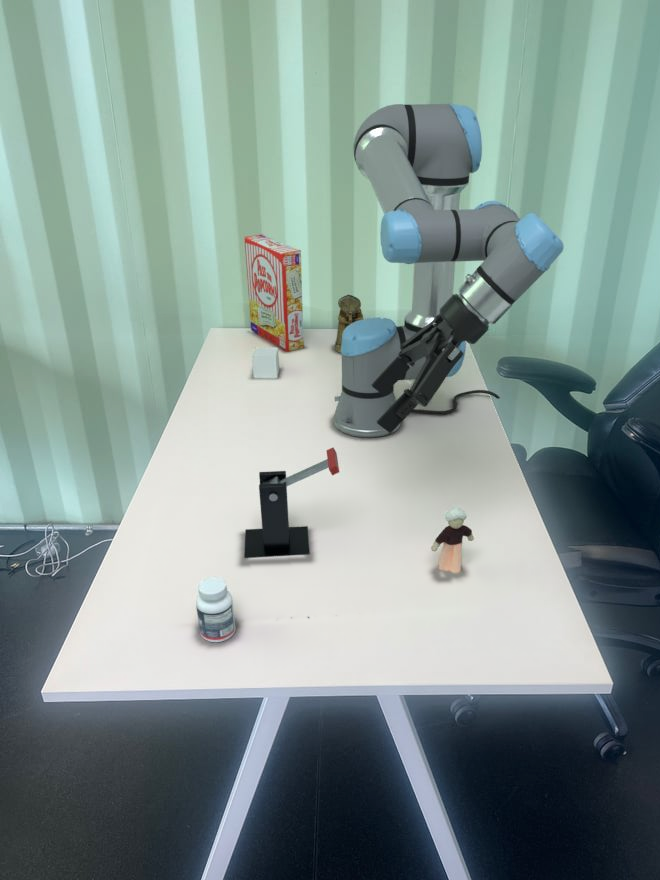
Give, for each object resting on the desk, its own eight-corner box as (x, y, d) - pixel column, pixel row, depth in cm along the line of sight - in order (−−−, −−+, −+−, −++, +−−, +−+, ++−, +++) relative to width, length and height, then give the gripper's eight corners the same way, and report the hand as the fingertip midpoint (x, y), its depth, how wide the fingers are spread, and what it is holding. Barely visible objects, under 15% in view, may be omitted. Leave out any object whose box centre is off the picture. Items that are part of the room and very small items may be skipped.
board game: (250, 331, 223) (243, 236, 208) (268, 327, 226) (263, 233, 212) (286, 352, 209) (281, 252, 195) (305, 348, 213) (302, 249, 198)
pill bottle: (202, 620, 116) (196, 574, 111) (237, 618, 116) (232, 572, 111) (198, 644, 111) (191, 597, 106) (234, 642, 112) (228, 595, 107)
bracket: (307, 531, 136) (305, 464, 129) (309, 559, 129) (307, 490, 122) (245, 534, 135) (239, 467, 127) (244, 563, 128) (237, 493, 120)
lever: (338, 455, 127) (331, 444, 126) (341, 474, 122) (334, 463, 121) (269, 487, 129) (262, 476, 128) (269, 507, 124) (262, 496, 122)
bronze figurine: (332, 360, 205) (331, 294, 196) (335, 342, 217) (334, 279, 207) (365, 361, 205) (365, 295, 196) (366, 343, 217) (367, 280, 207)
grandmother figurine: (441, 585, 124) (446, 521, 117) (426, 573, 127) (430, 510, 120) (476, 569, 128) (483, 506, 121) (461, 558, 130) (467, 495, 124)
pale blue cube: (279, 369, 199) (278, 347, 196) (277, 378, 194) (275, 356, 191) (256, 369, 199) (254, 347, 196) (253, 378, 194) (252, 355, 191)
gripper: (444, 269, 123) (359, 363, 130) (470, 322, 102) (367, 430, 110) (476, 298, 126) (391, 389, 134) (507, 355, 105) (405, 459, 113)
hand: (380, 408), depth 122 cm, fingers open, 13 cm apart
